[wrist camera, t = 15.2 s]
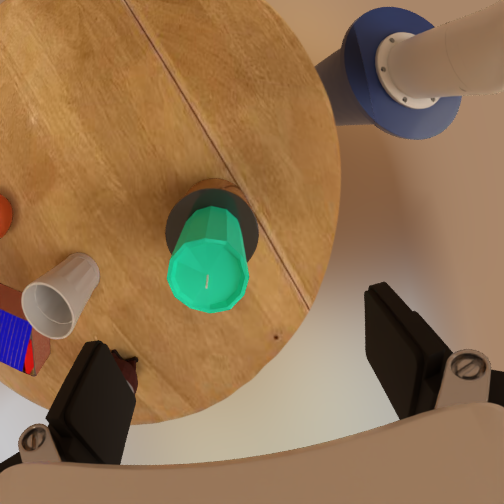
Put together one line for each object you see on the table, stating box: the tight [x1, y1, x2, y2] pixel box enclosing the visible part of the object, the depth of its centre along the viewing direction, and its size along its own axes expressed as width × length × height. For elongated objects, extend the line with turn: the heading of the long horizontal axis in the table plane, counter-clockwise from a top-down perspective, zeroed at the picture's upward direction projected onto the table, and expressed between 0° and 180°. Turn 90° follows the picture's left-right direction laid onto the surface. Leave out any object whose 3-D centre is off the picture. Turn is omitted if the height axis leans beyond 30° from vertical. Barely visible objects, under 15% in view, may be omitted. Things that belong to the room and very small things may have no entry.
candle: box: [167, 206, 249, 313], centre depth 27 cm, size 6×6×12 cm
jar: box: [165, 178, 259, 262], centre depth 38 cm, size 10×10×10 cm
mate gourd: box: [111, 350, 138, 395], centre depth 43 cm, size 8×8×15 cm
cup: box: [21, 253, 100, 339], centre depth 38 cm, size 8×8×12 cm
